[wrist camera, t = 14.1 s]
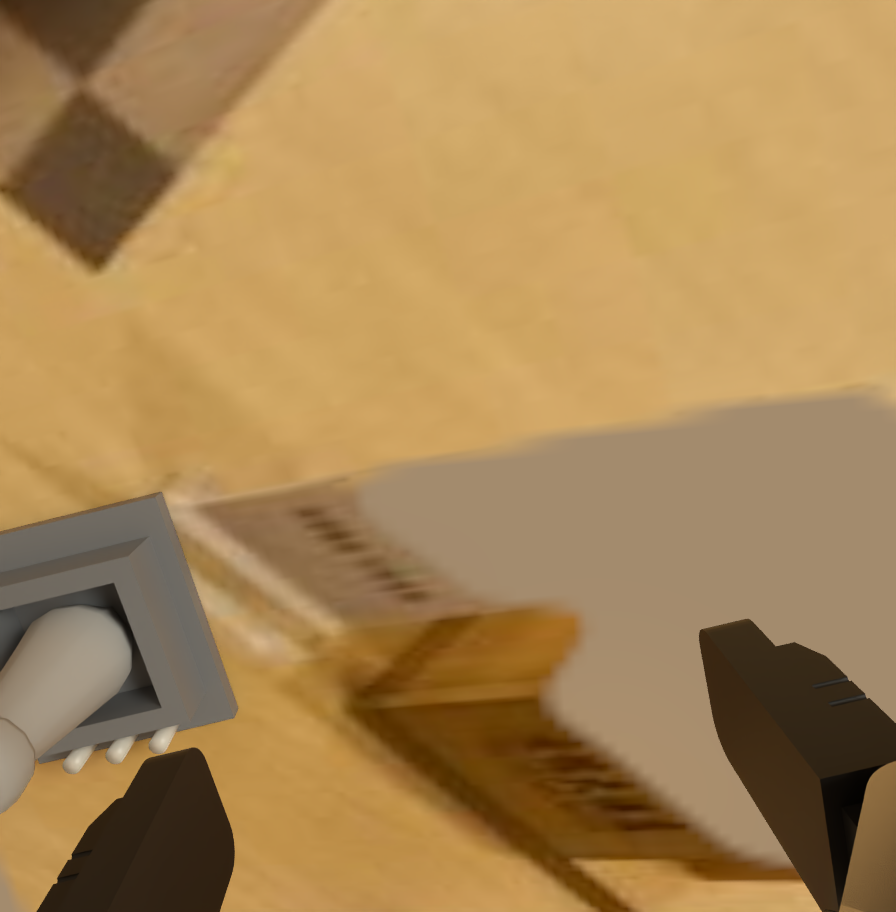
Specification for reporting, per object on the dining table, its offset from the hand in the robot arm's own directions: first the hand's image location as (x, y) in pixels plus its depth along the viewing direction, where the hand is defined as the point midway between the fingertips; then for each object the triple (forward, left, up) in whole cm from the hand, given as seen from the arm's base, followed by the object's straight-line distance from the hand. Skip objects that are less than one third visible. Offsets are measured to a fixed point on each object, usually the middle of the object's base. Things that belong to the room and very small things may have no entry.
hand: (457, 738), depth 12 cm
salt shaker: (+8, -22, -29) cm, 38 cm away
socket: (+8, -22, -30) cm, 38 cm away
